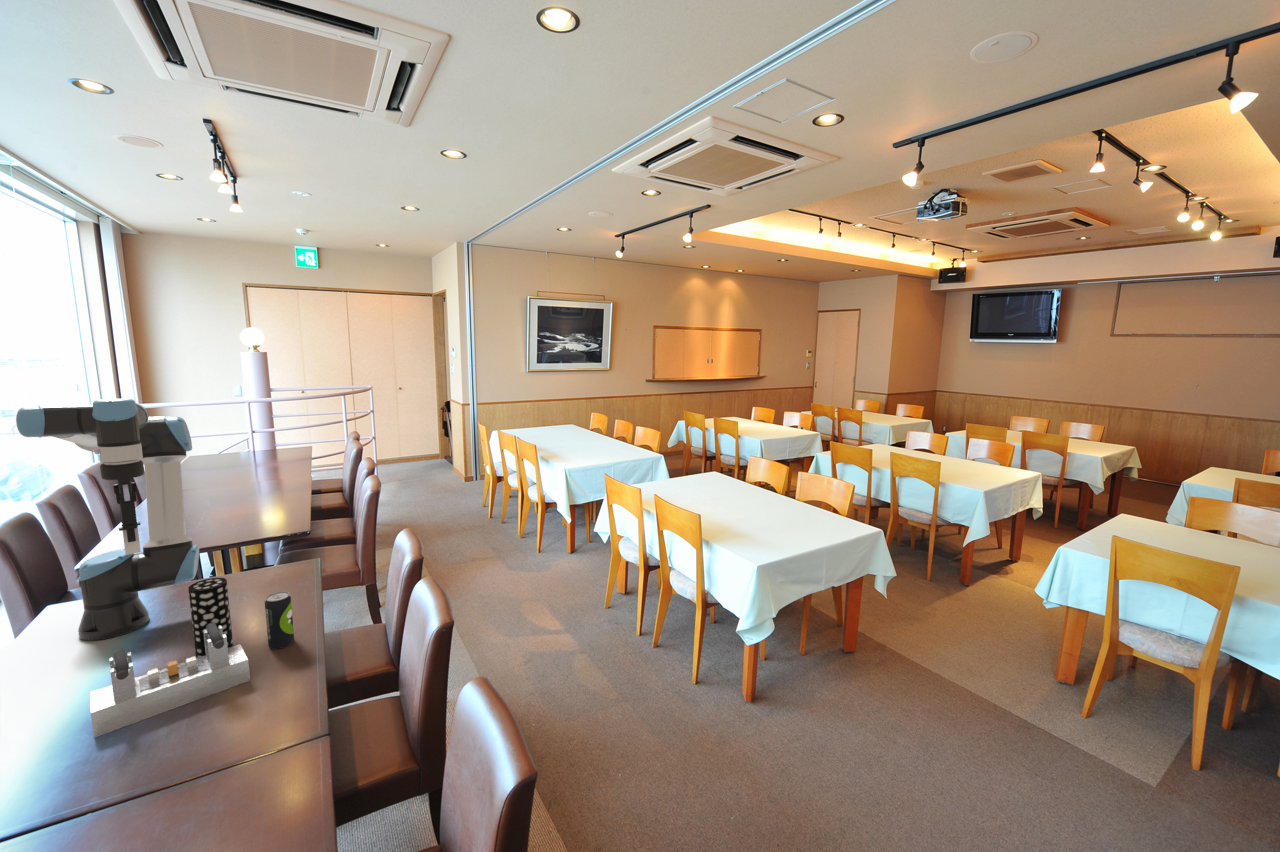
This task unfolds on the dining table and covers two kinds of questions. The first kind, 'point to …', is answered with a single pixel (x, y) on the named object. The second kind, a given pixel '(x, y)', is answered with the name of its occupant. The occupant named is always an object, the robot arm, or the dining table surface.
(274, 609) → the beverage can
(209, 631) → the dark grey rod
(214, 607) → the spotted tube
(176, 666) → the breaker paddle
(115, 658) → the dark grey bar handle
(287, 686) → the dining table surface
